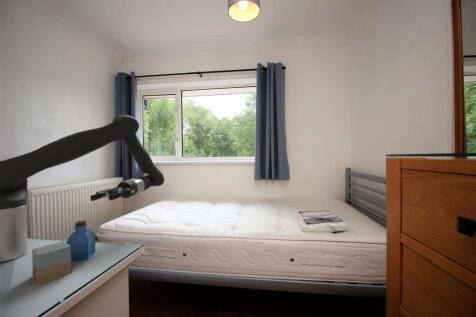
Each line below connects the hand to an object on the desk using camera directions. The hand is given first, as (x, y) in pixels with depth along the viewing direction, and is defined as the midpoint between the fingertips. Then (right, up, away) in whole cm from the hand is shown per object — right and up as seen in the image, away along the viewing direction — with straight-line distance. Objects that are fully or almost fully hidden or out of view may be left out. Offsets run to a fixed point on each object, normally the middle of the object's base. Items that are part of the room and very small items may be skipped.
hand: (100, 198), depth 78 cm
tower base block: (-1, -19, -19) cm, 26 cm away
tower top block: (-1, -15, -19) cm, 24 cm away
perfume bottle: (-1, -19, -8) cm, 20 cm away
